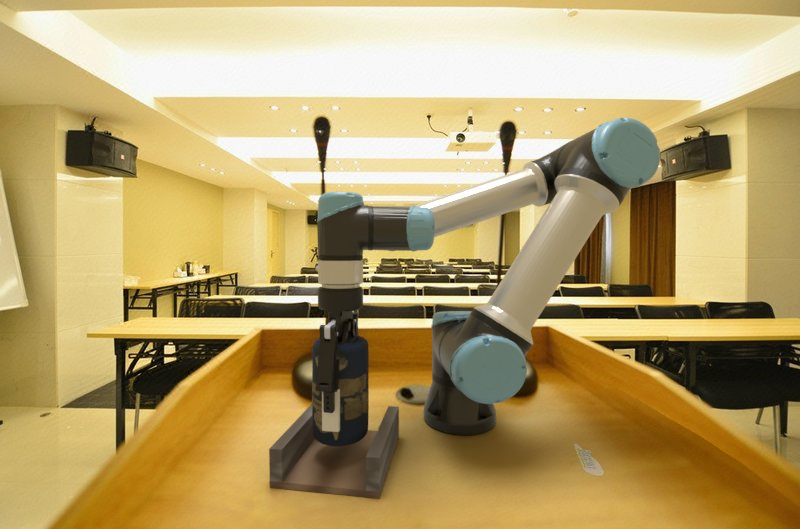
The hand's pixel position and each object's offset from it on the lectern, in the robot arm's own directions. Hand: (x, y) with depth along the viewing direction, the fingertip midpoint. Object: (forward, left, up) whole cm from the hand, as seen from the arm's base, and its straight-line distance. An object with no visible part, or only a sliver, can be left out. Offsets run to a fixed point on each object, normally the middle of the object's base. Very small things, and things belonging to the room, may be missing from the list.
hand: (340, 416), depth 65 cm
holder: (0, 0, -8) cm, 8 cm away
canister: (0, 0, -4) cm, 4 cm away
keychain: (-42, -7, -8) cm, 43 cm away
